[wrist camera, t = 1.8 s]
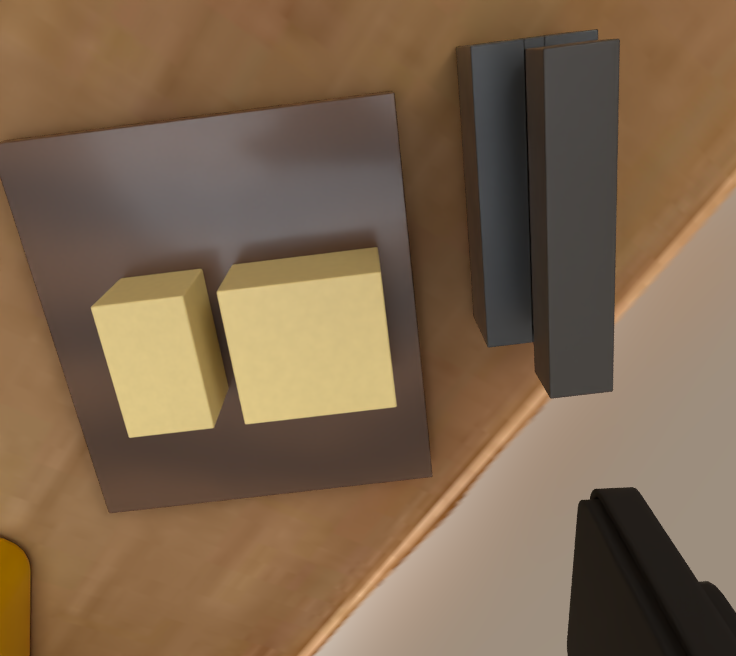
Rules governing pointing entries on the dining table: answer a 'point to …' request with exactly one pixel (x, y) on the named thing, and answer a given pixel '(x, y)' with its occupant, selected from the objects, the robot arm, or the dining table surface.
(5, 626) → the element tile
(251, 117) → the cutting board
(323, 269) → the butter
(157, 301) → the butter slice
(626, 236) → the dining table surface
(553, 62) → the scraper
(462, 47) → the scraper stand
